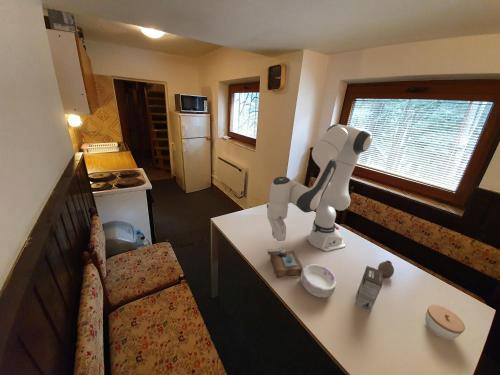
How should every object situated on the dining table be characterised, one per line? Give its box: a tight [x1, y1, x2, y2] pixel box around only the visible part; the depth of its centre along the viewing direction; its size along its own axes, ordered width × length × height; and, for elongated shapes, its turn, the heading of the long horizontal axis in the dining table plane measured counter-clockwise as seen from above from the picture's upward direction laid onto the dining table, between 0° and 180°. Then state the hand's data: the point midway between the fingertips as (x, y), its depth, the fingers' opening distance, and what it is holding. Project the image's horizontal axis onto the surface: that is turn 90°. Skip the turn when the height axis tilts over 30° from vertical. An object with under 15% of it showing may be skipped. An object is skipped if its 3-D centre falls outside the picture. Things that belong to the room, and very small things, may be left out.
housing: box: [269, 250, 303, 279], centre depth 106 cm, size 13×13×5 cm
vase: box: [377, 260, 395, 279], centre depth 104 cm, size 7×7×9 cm
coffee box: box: [355, 265, 384, 313], centre depth 88 cm, size 9×6×16 cm
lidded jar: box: [424, 304, 466, 340], centre depth 79 cm, size 11×11×9 cm
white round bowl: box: [300, 263, 338, 298], centre depth 95 cm, size 15×15×8 cm
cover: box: [282, 254, 297, 267], centre depth 103 cm, size 6×6×4 cm
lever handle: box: [267, 247, 287, 256], centre depth 107 cm, size 10×3×3 cm, turn 98°
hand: (274, 236), depth 97 cm, fingers closed
